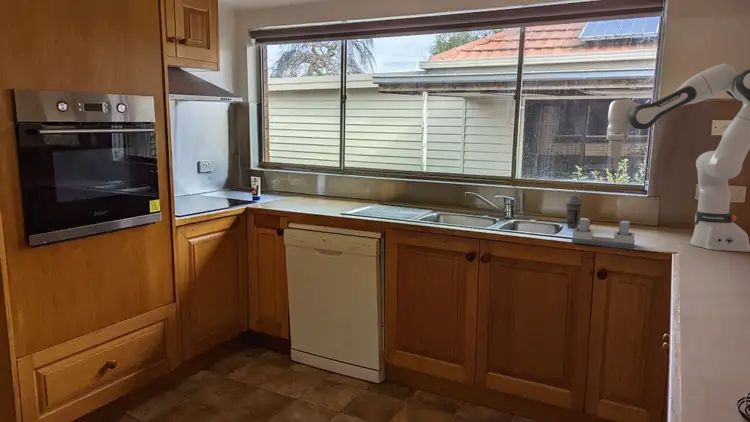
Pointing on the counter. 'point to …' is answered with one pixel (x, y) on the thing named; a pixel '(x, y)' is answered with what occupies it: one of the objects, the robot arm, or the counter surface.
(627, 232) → the block
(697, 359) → the counter surface
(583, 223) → the grey and orange block
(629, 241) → the rail
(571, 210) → the beverage cup
